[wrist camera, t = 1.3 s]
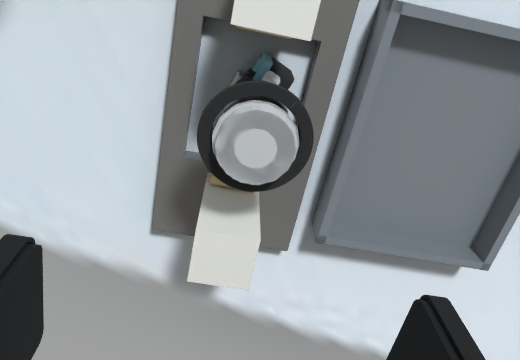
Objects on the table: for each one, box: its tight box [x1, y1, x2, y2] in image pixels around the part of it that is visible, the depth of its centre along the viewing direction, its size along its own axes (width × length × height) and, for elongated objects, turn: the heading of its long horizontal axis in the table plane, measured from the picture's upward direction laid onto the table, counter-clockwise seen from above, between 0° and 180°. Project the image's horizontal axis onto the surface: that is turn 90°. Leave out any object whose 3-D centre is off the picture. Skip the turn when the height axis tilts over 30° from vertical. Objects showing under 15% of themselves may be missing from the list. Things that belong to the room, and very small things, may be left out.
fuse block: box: [152, 0, 359, 290], centre depth 24 cm, size 10×21×8 cm, turn 168°
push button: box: [197, 52, 314, 192], centre depth 24 cm, size 7×5×10 cm
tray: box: [312, 0, 520, 271], centre depth 29 cm, size 13×16×2 cm
